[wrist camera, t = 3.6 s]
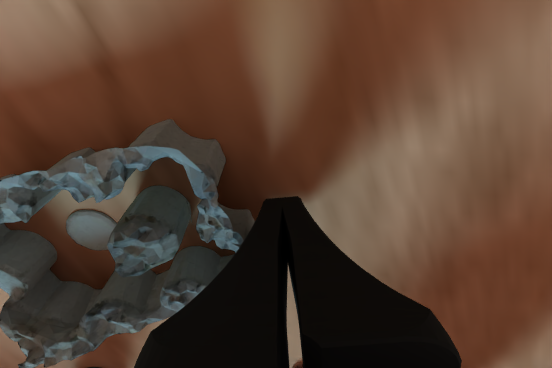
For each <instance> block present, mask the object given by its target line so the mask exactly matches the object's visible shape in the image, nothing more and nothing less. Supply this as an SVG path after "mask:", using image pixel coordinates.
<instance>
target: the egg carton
mask: <svg viewBox="0 0 552 368" xmlns="http://www.w3.org/2000/svg"><path fill="white" fill-rule="evenodd" d="M163 157H170V158H172V159H173V160H174V161H175V162H177V163H179V164H182V165H184V168H185V170H186V173H187V175H188V178H189V180H190V183H191V186H192V188H193V191H194V194H195V195H196V196H198V197H199V198H200V199H202V200H201V202H200V203H199V204H198V206H197V207H198V210H199V213H198V219H197V224H196V230H197V232H198V233H199V235H200V238H201V240H203V241H205V242H206V243H209V242H210V241H211V240H213V239H214V240H215V242H216V245H217V246H218V247H220V248H221V249H230V250H233V251H235V253H236V252H237V250H238V249H239V247H240V246H241V244H242V243H243V241H244V240H245V238H246V237H247V235H248V233H249V232H250V230H251V228H252V226H253V224H254V223H255V221H254V219H253V217H252V214H251V212H250V211H249V210H248V209H243V210H236V209H230V208H227V207H225V206H223V205H221V204H220V203H218V202H217V199H218V197H219V195H218V192H217V188H216V187H217V186H218V183H219V179H220V176H221V173H222V171H223V168H224V165H225V163H226V158H225V156H224V154H223V152H222V149H221V147H220V144H219V143H218V141H217V140H216V139H209V140H206V139H199V138H196V137H192V136H190V135H188V134H187V133H185V132H184V131H182V130H181V129H180V128H179V127H178V126H177V125H176V123H175V122H174V121H173V120H172V119H168V120H165V121H162V122H159V123H156V124H154V125H151V126H149V127H148V128H146V130H145V131H143V132H142V133H141V134H140V135H139V136H138V137H137V139H136V140H135V141H134V142H132V143H131V144H130V146H129V147H128V148H116V147H115V148H110V149H106V150H102V151H99V152H95V151H94V150H93V149H92V148H89V147H88V148H85V149H82V150H79V151H76V152H73V153H71V154H69V155H67V156H66V157H64V158H63V159H62V160H60V161H59V162H58V163H56V164H55V165H54V166H52V167H51V168H50V169H48V170H47V171H30V172H27V173H24V174H20V175H16V174H11V175H7V176H4V177H1V178H0V288H2V289H3V290H4V291H6V292H7V293H8V294H9V296H10V298H9V299H8V300H7V301H6V302H5V303H4V305H3V308H2V311H1V313H0V327H1V328H2V330H3V332H4V333H5V334H6V335H7V336H8V337H9V338H10V339H12V340H13V341H18V345H19V347H20V349H21V350H22V351H23V352H24V354H25V355H26V356H27V359H26V361H25V362H24V363H22V364H18V366H19V368H34V367H36V366H38V365H39V364H42V363H44V367H48V366H52V365H55V364H57V363H58V362H60V361H62V360H73V359H75V358H77V357H79V356H81V355H84V354H86V353H88V352H90V351H94V350H95V349H96V348H97V347H98V346H99V345H100V344H101V343H102V342H103V341H104V340H105V339H106V337H109V336H111V335H114V334H121V333H135V332H139V331H140V330H141V329H143V328H144V327H145V326H146V325H147V324H150V323H153V322H157V321H160V320H163V319H166V318H168V317H171V316H173V315H174V314H175V313H177V312H178V311H179V310H181V309H182V308H183V307H184V306H185V305H187V304H188V303H189V302H190V301H191V300H192V299H193V298H195V297H196V296H197V295H198V294H199V293H200V292H201V291H202V290H203V289H204V288H205V287H206V286H207V285H208V284H209V283H210V282H211V281H212V280H213V279H214V278H215V277H216V276H217V275H218V274H219V273H220V272H221V270H222V269H223V268H224V267H225V266H226V265H227V263H228V262H229V261H230V260H231V258H232V257H233V256H234V255H230V256H224V257H220V256H219V255H218V254H217V253H216V252H214V251H213V250H211V249H208V248H205V247H202V246H190V247H187V248H184V249H182V250H181V251H180V252H178V253H177V255H176V256H175V254H176V252H177V251H178V249H179V247H180V244H181V242H182V239H183V236H184V234H185V231H186V228H187V226H188V223H189V221H190V218H191V208H190V203H189V202H188V201H187V199H186V198H185V197H184V196H183V195H182V194H181V193H179V192H178V191H176V190H174V189H171V188H169V187H166V186H151V187H148V188H146V189H144V190H143V191H142V192H141V193H140V194H139V195H138V196H137V197H136V198H135V200H134V201H133V203H132V204H131V205H130V206H129V208H128V209H127V210H126V212H125V213H124V215H123V216H122V218H121V219H120V221H119V222H118V224H117V223H116V222H115V221H114V220H113V219H112V218H111V217H109V216H107V215H105V214H104V213H102V212H98V211H94V210H79V211H76V212H74V213H73V214H71V215H70V216H69V217H68V219H67V222H66V229H67V233H68V234H69V235H70V237H71V238H72V239H73V240H74V241H75V242H76V243H77V244H80V245H81V246H85V247H86V248H88V249H91V250H108V249H109V251H110V253H111V255H112V257H113V259H114V261H115V263H116V266H115V271H114V272H113V274H112V275H111V277H110V278H109V280H108V281H107V283H106V285H105V286H104V288H103V289H101V290H96V289H93V288H92V287H90V286H88V285H86V284H83V283H80V282H74V281H60V280H59V279H58V278H57V277H56V276H55V275H54V274H53V273H52V272H51V270H50V267H51V266H52V265H53V264H54V263H55V262H56V260H57V252H56V250H55V248H54V246H53V245H52V244H51V243H50V242H49V241H48V240H46V239H45V238H43V237H42V236H40V235H39V234H36V233H34V232H30V231H26V230H10V229H9V228H7V227H6V226H5V224H4V222H18V221H23V222H24V223H27V222H28V221H29V220H30V218H31V217H32V216H33V215H34V214H35V213H36V212H37V211H39V210H40V209H41V208H42V207H43V206H44V205H45V204H47V203H48V202H49V201H50V200H51V199H52V198H53V197H55V196H56V195H57V194H58V193H59V192H60V191H61V190H62V189H65V190H68V191H69V192H70V193H71V195H72V197H73V198H74V199H75V200H76V201H77V202H78V203H79V202H82V201H84V200H86V199H88V198H91V197H95V201H96V203H97V202H101V201H102V200H104V199H106V200H107V199H110V198H113V197H114V196H116V195H118V194H119V193H120V192H121V191H122V189H123V187H124V184H125V182H126V180H127V179H128V178H129V177H130V175H131V174H132V173H133V172H134V171H135V170H136V169H138V170H139V171H144V170H146V169H149V167H150V166H151V164H152V162H153V161H155V160H157V159H159V158H163ZM191 222H192V220H191ZM192 225H193V224H192ZM174 256H175V258H174V260H173V263H172V265H171V267H170V269H169V270H167V271H165V272H163V273H161V274H158V275H157V274H155V273H154V272H153V271H151V270H150V269H151V268H153V267H155V266H158V265H160V264H162V263H165V262H167V261H169V260H171V259H173V257H174Z"/></svg>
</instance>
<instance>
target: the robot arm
mask: <svg viewBox="0 0 552 368" xmlns="http://www.w3.org/2000/svg"><path fill="white" fill-rule="evenodd" d="M288 266H289V271H290V276H291V282H292V287H293V292H294V298H295V303H296V308H297V314H298V320H299V328H300V339H301V349H302V359H303V368H461V358H460V355H459V353H458V351H457V349H456V347H455V345H454V343H453V342H452V340H451V338H450V337H449V335H448V333H447V332H446V331H445V329H444V328H443V326H442V325H441V324H440V322H439V321H438V319H437V318H436V317H435V315H434V314H433V313H432V311H431V310H430V309H428V308H427V307H425V306H423V305H421V304H419V303H417V302H415V301H413V300H412V299H410V298H408V297H406V296H404V295H402V294H400V293H398V292H397V291H395V290H393V289H392V288H390V287H389V286H387V285H385V284H384V283H382V282H381V281H379V280H378V279H376V278H375V277H373V276H372V275H371V274H369V273H368V272H366V271H365V270H364V269H362V268H361V267H360V266H358V265H357V264H356V263H355V262H354V261H352V260H351V259H350V258H349V257H348V256H347V255H345V254H344V253H343V252H342V251H341V250H340V249H339V248H338V247H337V246H336V245H335V244H334V243H333V242H332V241H331V240H330V239H329V238H328V237H327V235H326V234H325V233H324V232H323V231H322V230H321V229H320V227H319V226H318V225H317V223H316V222H315V221H314V220H313V218H312V217H311V215H310V214H309V212H308V211H307V209H306V208H305V206H304V204H303V203H302V201H301V198H299V197H298V196H295V197H284V198H273V199H266V200H265V201H264V202H263V205H262V208H261V210H260V212H259V215H258V217H257V219H256V221H255V223H254V224H253V226H252V228H251V230H250V232H249V233H248V235H247V237H246V238H245V240H244V241H243V243H242V244H241V246H240V247H239V249H238V250H237V252H236V253H235V254H234V256H233V257H232V258H231V260H230V261H229V262H228V263H227V265H226V266H225V267H224V268H223V269H222V270H221V272H220V273H219V274H218V275H217V276H216V277H215V278H214V279H213V280H212V281H211V282H210V283H209V284H208V285H207V286H206V287H205V288H204V289H203V290H202V291H201V292H200V293H199V294H198V295H197V296H196V297H195V298H193V299H192V300H191V301H190V302H189V303H188V304H187V305H185V306H184V307H183V308H182V309H181V310H179V311H178V312H177V313H175V314H174V315H173V316H171V317H170V318H169V319H167V320H166V321H165V322H163V323H162V324H161V325H159V326H158V327H157V328H155V329H154V330H152V331H151V332H150V334H149V336H148V338H147V340H146V342H145V344H144V346H143V348H142V350H141V352H140V354H139V357H138V359H137V361H136V364H135V366H134V368H289V355H288V340H287V317H286V312H287V274H288Z"/></svg>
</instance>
